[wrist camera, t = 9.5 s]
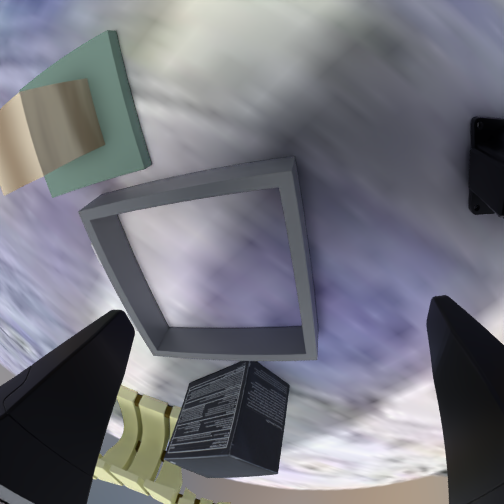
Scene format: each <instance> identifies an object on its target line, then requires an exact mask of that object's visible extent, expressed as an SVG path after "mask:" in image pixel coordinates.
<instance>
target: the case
mask: <svg viewBox="0 0 504 504" xmlns="http://www.w3.org/2000/svg"><path fill="white" fill-rule="evenodd" d="M278 187H279V191H280V196H281V202H282V207H283V212H284V218H285V223H286V229H287V235H288V240H289V246H290V252H291V258H292V264H293V270H294V276H295V282H296V288H297V295H298V301H299V308H300V314H301V321H302V326H298V327H272V328H174V327H168V325H167V323H166V321H165V319H164V317H163V315H162V313H161V311H160V309H159V307H158V305H157V303H156V301H155V299H154V297H153V295H152V293H151V291H150V289H149V287H148V285H147V283H146V280H145V278H144V276H143V274H142V272H141V270H140V267H139V265H138V263H137V261H136V259H135V256H134V254H133V252H132V249H131V247H130V245H129V242H128V240H127V238H126V235H125V233H124V231H123V228H122V226H121V223H120V221H119V218H118V216H117V214H121V213H126V212H130V211H135V210H141V209H146V208H151V207H156V206H162V205H167V204H173V203H178V202H184V201H190V200H196V199H202V198H208V197H214V196H221V195H227V194H234V193H241V192H248V191H255V190H263V189H270V188H278ZM78 213H79V215H80V217H81V220H82V222H83V224H84V227H85V229H86V231H87V234H88V236H89V238H90V240H91V242H92V243H91V246H92V248H93V250H94V252H95V254H96V256H97V258H98V260H99V262H100V264H101V266H103V267H104V269H105V271H106V273H107V275H108V277H109V279H110V281H111V283H112V285H113V287H114V289H115V291H116V293H117V294H118V296H119V298H120V300H121V302H122V304H123V305H124V307H125V309H126V311H127V313H128V314H127V315H128V317H129V318H130V320H131V322H132V324H133V325H134V327H135V329H136V330H137V331H139V333H140V335H141V336H142V338H143V340H144V341H145V343H146V344H147V346H148V348H149V349H150V351H151V352H152V354H153V356H163V357H175V358H189V359H205V360H229V361H305V360H317V357H318V323H317V313H316V303H315V294H314V285H313V277H312V268H311V260H310V253H309V245H308V238H307V231H306V224H305V217H304V210H303V204H302V197H301V191H300V185H299V179H298V173H297V167H296V161H295V156H291V157H284V158H276V159H269V160H263V161H256V162H250V163H244V164H238V165H232V166H226V167H221V168H215V169H210V170H205V171H200V172H195V173H190V174H185V175H180V176H175V177H171V178H166V179H162V180H157V181H153V182H149V183H145V184H141V185H136V186H132V187H128V188H125V189H121V190H117V191H113V192H109V193H106V194H102V195H100V196H99V197H97V198H96V199H95V200H93V201H92V202H91V203H89V204H88V205H87V206H85V207H84V208H83V209H81V210H80V211H79V212H78Z"/></svg>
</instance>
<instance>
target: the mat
mask: <svg viewBox="0 0 504 504" xmlns="http://www.w3.org/2000/svg"><path fill="white" fill-rule="evenodd" d="M86 78H87V80H88V84H89V88H90V92H91V96H92V100H93V104H94V107H95V111H96V115H97V118H98V122H99V125H100V129H101V132H102V135H103V139H104V142H105V145H104V146H101V147H99V148H97V149H95V150H93V151H91V152H89V153H87V154H85V155H83V156H81V157H79V158H77V159H75V160H73V161H71V162H69V163H67V164H65V165H63V166H61V167H59V168H58V169H56V170H54V171H52V172H50V173H48V174H47V175H45V176H44V177H45V180H46V182H47V185H48V188H49V190H50V193H51V195H52V198H54V197H56V196H59V195H62V194H65V193H68V192H71V191H73V190H76V189H79V188H82V187H85V186H89V185H92V184H95V183H98V182H101V181H104V180H108V179H111V178H114V177H118V176H121V175H125V174H128V173H132V172H135V171H139V170H143V169H145V168H147V167H148V166H150V165H152V164H151V161H150V157H149V154H148V151H147V148H146V144H145V141H144V138H143V134H142V131H141V127H140V124H139V121H138V117H137V113H136V110H135V106H134V103H133V99H132V95H131V91H130V88H129V84H128V80H127V76H126V72H125V68H124V64H123V59H122V55H121V51H120V47H119V42H118V38H117V33H116V31H110V30H107V31H105V32H103V33H102V34H100V35H98V36H96V37H95V38H93V39H91V40H89V41H88V42H86V43H85V44H83V45H81V46H80V47H78V48H77V49H75V50H73V51H72V52H70V53H69V54H67V55H66V56H64V57H63V58H61V59H60V60H59V61H57V62H56V63H54V64H53V65H52V66H50V67H49V68H47V69H46V70H45V71H43V72H42V73H41V74H39V75H38V76H37V77H36V78H34V79H33V80H32V81H30V82H29V83H28V84H27V85H26V86H24V87H23V88H22V89H21V90H20V92H21V91H25V90H29V89H34V88H38V87H42V86H47V85H52V84H57V83H62V82H67V81H73V80H79V79H86Z"/></svg>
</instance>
